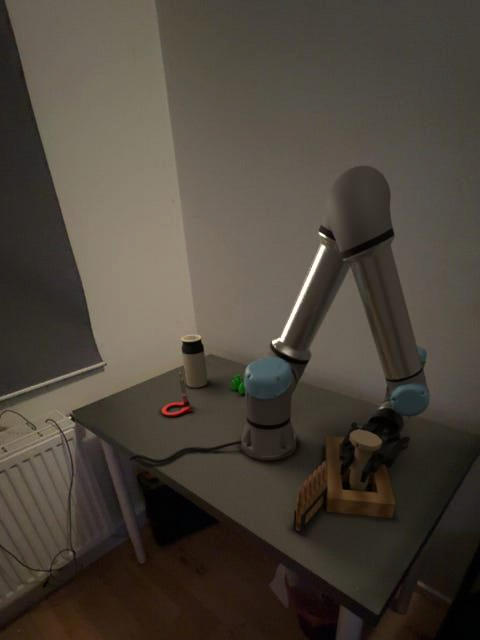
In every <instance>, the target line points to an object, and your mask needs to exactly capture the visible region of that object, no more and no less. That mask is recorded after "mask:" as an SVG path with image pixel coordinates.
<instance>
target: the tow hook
mask: <svg viewBox="0 0 480 640" xmlns="http://www.w3.org/2000/svg"><path fill="white" fill-rule="evenodd" d="M178 376H179V384H180V390H181V393H182V394H181V396H182V401H180V402H179V401H178V402H177V401H175V402H171V403H168V404H166V405H164V406H163V407H162V408H161V414H162V415H163V416H165V417H170V418H171V417H178V416H181V415H183V414H185V413H186V412H187V413H191V412H192V408H191V406H190V402H189V397H188V393H187V391H186V387H185V381H184V378H183V375H182V372H181V371H179V372H178ZM172 407H173V408H174V407H180V408H181V409H180V410H178V411H175V412H170V411H168V410H169V409H170V408H172Z"/></svg>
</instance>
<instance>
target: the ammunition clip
mask: <svg viewBox="0 0 480 640" xmlns="http://www.w3.org/2000/svg"><path fill="white" fill-rule="evenodd" d="M326 485H327V464H326V460H324V461H322V464H320V465H319V466H318V469H315V470H314V471H313V474H312V473H311V474H310V475H309V477H308V478H307V479H305V480H304V483H303V484H300V486H299V488H298V494H297V499H296V508H295V510H294V513H293V526H292V527H293V529H292V530H293V531H295V532H296V533H298V534H300V535H302V534H303V533H304V531H305V530H306V529H307V528H308V526H310V524H311V523H312V522H313V520H314V519H315V518H316V517H317V516H318V514H319V513H320V512H321V511H322V510H323V508H324V507H325V506H327V501H326V500H327V489H328V487H327V486H326Z"/></svg>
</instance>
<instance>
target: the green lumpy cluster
mask: <svg viewBox="0 0 480 640" xmlns="http://www.w3.org/2000/svg"><path fill="white" fill-rule="evenodd" d="M244 377H245V373H243V377H242V376H241V375H239V374H234V375H233V376H232V380H231V382H230V383H229V387H230V390H232V391H235V392H236V391H238V394H239V395H241V396H242V395H245V386H244ZM231 385H232V386H231Z"/></svg>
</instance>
